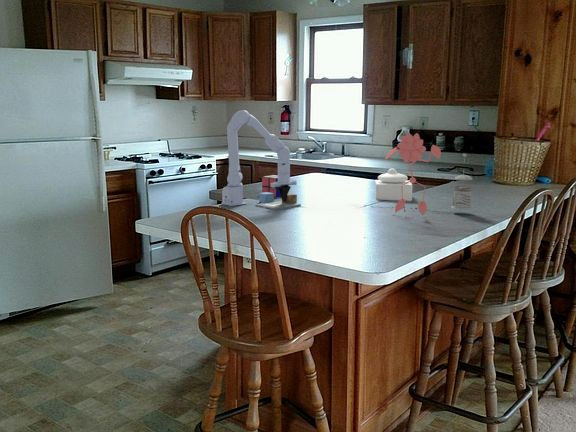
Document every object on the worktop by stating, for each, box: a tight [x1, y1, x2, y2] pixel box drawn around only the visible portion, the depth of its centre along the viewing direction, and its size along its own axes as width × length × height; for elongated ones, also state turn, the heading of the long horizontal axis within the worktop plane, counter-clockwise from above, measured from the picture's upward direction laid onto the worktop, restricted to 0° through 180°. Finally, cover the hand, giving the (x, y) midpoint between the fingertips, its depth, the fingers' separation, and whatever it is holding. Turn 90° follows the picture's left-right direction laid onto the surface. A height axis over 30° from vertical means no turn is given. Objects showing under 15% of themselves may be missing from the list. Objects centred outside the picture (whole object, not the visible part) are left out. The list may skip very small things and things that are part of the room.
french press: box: [447, 153, 474, 211], centre depth 265 cm, size 10×12×25 cm
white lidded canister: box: [374, 167, 413, 202], centre depth 292 cm, size 18×18×16 cm
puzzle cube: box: [261, 174, 286, 198], centre depth 306 cm, size 10×10×10 cm
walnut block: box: [281, 192, 298, 204], centre depth 276 cm, size 5×5×4 cm
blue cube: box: [258, 192, 275, 204], centre depth 280 cm, size 5×5×5 cm
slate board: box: [255, 200, 302, 211], centre depth 271 cm, size 16×14×1 cm
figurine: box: [384, 132, 442, 219], centre depth 247 cm, size 15×26×35 cm, turn 54°
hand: (283, 201), depth 273 cm, fingers closed, pressing on walnut block
